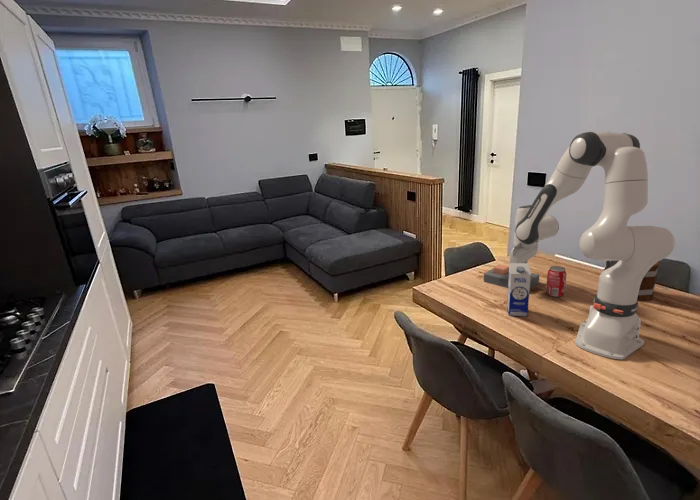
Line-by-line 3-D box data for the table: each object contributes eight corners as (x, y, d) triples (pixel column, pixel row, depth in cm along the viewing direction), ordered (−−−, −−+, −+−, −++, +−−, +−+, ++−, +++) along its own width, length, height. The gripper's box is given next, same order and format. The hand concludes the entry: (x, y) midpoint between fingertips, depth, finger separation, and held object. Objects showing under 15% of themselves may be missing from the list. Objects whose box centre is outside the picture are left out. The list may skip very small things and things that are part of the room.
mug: (662, 296, 153) (669, 262, 148) (639, 304, 148) (646, 269, 143) (614, 280, 170) (618, 249, 165) (592, 286, 166) (597, 254, 161)
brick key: (503, 275, 176) (503, 269, 175) (493, 273, 180) (493, 267, 179) (508, 272, 179) (508, 266, 178) (498, 270, 183) (498, 264, 182)
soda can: (560, 290, 165) (562, 265, 161) (567, 297, 158) (570, 271, 154) (543, 291, 166) (545, 265, 162) (549, 298, 159) (552, 271, 155)
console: (525, 292, 165) (526, 284, 164) (483, 281, 180) (483, 273, 178) (538, 282, 174) (539, 274, 173) (497, 272, 188) (498, 265, 187)
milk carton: (525, 308, 152) (528, 262, 146) (527, 316, 146) (531, 269, 140) (506, 307, 154) (509, 262, 148) (508, 315, 148) (511, 268, 142)
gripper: (520, 248, 158) (518, 278, 162) (541, 236, 170) (539, 264, 175) (506, 245, 162) (504, 275, 167) (527, 234, 175) (525, 261, 179)
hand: (522, 269), depth 171 cm, fingers closed
